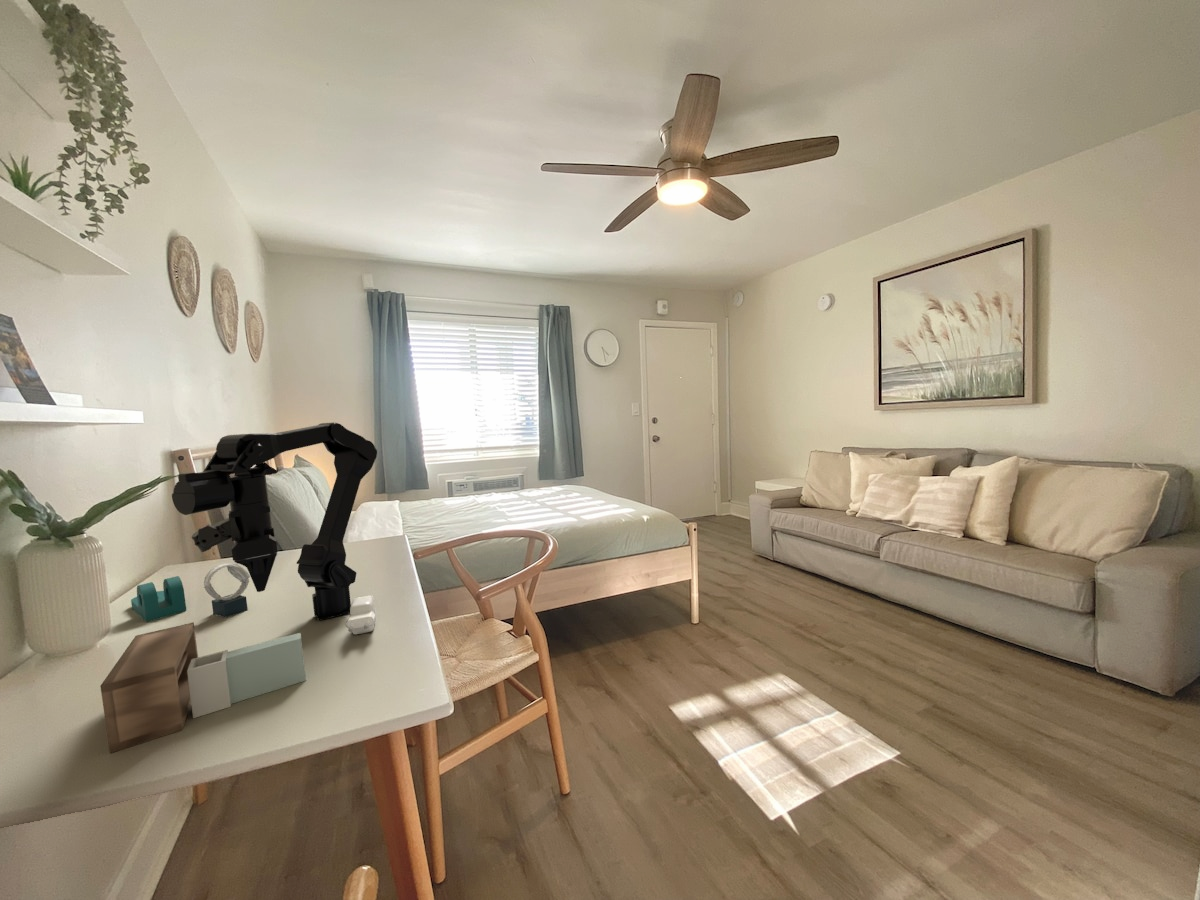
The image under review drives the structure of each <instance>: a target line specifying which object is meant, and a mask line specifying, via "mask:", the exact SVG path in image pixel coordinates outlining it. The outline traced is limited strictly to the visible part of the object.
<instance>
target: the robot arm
mask: <svg viewBox="0 0 1200 900" xmlns="http://www.w3.org/2000/svg"><path fill="white" fill-rule="evenodd" d="M319 444H323V446H324V447H325V449H326V451H327V452H328V453H330V454H331V455H332V456H334V460H333V465H334V468H335V472H336V478H335V482H334V484H333V487H332V490H331V494H330V497H329V500H328V503H327V506H326V509H325V513H324V516H323V519H322V522H321V525H320V529H319V532H318V535H317V537H316V539H315V540H314V541H313V542H312V543H311V544H307V543H306V544H303V545H302V547H301V551H300V556H299V558H298V560H297V561H296V565H298V566H297V574H298V575H299V576H300V578H301V579H302V580H303V581H304V583H305V584H306V586H307V588H314V593H312V594H311V597H312V605H313V614H314V616H315V617H317V621H323V620H327V619H332V618H334V617H339V616H342V615H346V614H350V607H351V604H352V601H351V592H350V586H351V585H352V584H354V583H355V582H356V577H357V572H356V571H355V570H353V568H350V567H349V566H348V565H346V559H347V553H346V548H345V546H344V538H345V535H346V531H347V528H348V525H349V521H350V518H351V515H352V512H353V507H354V504H355V500H356V498H357V494H358V491H359V486H360V484H361V481H362V479H363V478H364V477H365V476H366V475H367V474H368V473H369V472H370V471H371V470H372V468H373V466H374V464H375V461H376V459H377V455H378V450H377V449H376V446H375V444H374V443H373V442H372V441H370V440H368V439H366V438H365V437H364V436H362V435H359V434H358V433H355V432H353V431H351V430H349V429H348V428H346V427H345V426H344V425H343V424H341V423H338V422H322V423H319V424H317V425H313V426H311V425H310V426H308V427H301V428H297V429H291V430H290V429H289V430H285V431H279V432H275V433H241V434H239V433H238V434H228V435H224V436H222V437H220V438H219V440H218V442H217V444H216V448H215V452H214V454H213V455H212V457H211V459H210V460H209V461H208V463H207V464H206V466H205V468H204V469H203V471H201V472H183V473H178V474H177V478H178V481H177V482H176V483H175V485H174V487H173V492H172V493H171V498H172V499H171V500H172V503H173V505H174V508H175V509H176V510H177V511H178V513H180V514H181V515H184V516H188V515H193V514H198V513H202V512H208V511H213V510H217V509H224V508H226V507H227V506H230V508H229V509H230V510H229V512H228V517H227V518H225V519H223V520H220V521H217V522H215V523H214V524H210V523H208V524H207V525H205V526H203V527H199V528H198V529H197V531H195V532H194V533H193V534H191V536H190V537H191V539H192V540H193V542H194V545H195V546H196V547H197V548H198V549H199V551H200V552H201V553H204V552H207V551H209V550H211V549H212V548H213V547H216V546H217V545H219V544H221V543H224V542H226V541H228V540H230V539H231V542H234V544H233V545H232V547H231V557H232V561H233V563H235V564H238V565H240V566H242V567H245V568H246V569H247V572H248V574H249V576H250V579H251V580H252V583H253V586H254V587H255V589H256V592H257V593H260V592H263V591H265V590H266V587H267V584H268V581H269V578H270V575H271V573H272V570H273V567H274V563H275V562H276V557H277V556H278V552H279V551H278V546H277V545H278V543H277V539H276V537H275V530H274V525H273V523H272V514H271V507H270V500H269V493H268V492H269V491H268V484H267V476H271V475H275V474H277V473H278V470H277V469H276V468H274V467H272V466H270V465H269V464H268V463H267V462H268V461H270V460H272V459H275V458H276V457H278V456H279V455H280V454H282V453H285V452H289V451H293V450H296V449H298V450H299V449H301V448H306V447H311V446H315V445H319Z"/></svg>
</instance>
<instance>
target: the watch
mask: <svg viewBox="0 0 1200 900" xmlns="http://www.w3.org/2000/svg"><path fill="white" fill-rule="evenodd" d="M223 568H227V571H228V572H229V574H230V575H231V576H232V577H234V578H235V579H236V580H238V581H239V582H240V583H241V584H240V586H239V588H238V589H237V590H236V591H235V592H234V593H231V594H228V595H225V596H221V595H220V594H219V593H217V591H216V590H215V589H214V587H213V586H212V583H211V581H212V577H214V575H215V574H216V573H217V572H218V571H220V570H222V569H223ZM249 578H251V576H250V574H249V572H248V570H246V569H245V568H243V566H242V565H240V564H237V563H235V562H231V563H221V564H218V565H216V566H214V567H212V568H211V569H210V570H209V571H208V572H207V574H206V576H205V577H204V581H203V585H204V586H203V588H204V590H205V592H206V593H207V594H208V595H209V596H210V597H211V598H213V599H212V600H211V606H212V614H213V615H215V616H219V617H222V618H224V619H225V618H228V617H231V616H235V615H238V614H240V613H242V612H247V611H248V610H249V609H248V601H247V596H245V595H242V594H243V593H245V591H246V589H247V588H248V585H249V584H250V580H249Z"/></svg>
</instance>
